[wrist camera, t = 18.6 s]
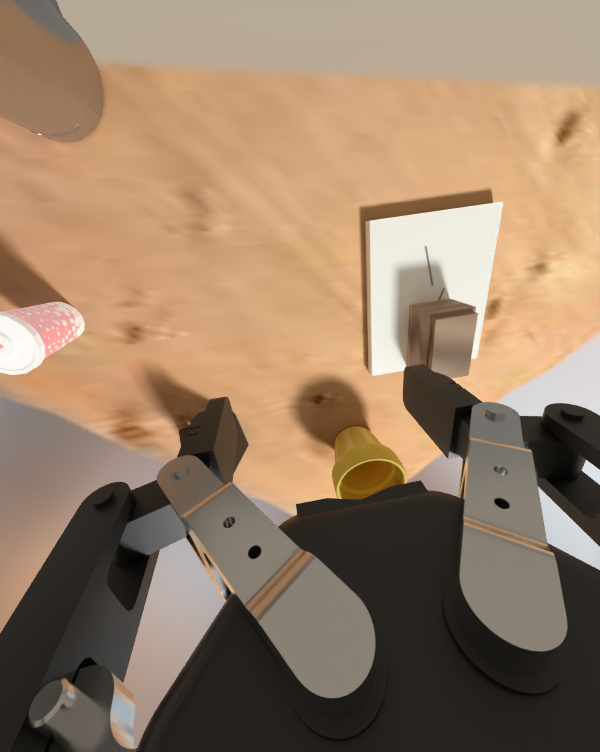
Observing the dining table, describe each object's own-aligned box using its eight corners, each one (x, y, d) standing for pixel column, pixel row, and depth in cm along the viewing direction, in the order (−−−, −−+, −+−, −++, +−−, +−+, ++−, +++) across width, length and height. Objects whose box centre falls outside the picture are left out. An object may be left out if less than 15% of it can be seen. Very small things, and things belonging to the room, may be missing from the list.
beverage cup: (71, 288, 33) (-47, 318, 20) (101, 336, 36) (13, 389, 23) (22, 303, 33) (-126, 342, 20) (56, 350, 36) (-56, 409, 23)
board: (365, 221, 33) (369, 220, 32) (493, 202, 34) (503, 201, 33) (368, 371, 42) (372, 376, 41) (469, 354, 43) (476, 358, 42)
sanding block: (409, 304, 37) (434, 316, 31) (449, 298, 37) (480, 308, 32) (406, 366, 41) (428, 385, 36) (442, 360, 41) (469, 378, 36)
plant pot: (317, 463, 49) (328, 511, 41) (330, 413, 45) (347, 455, 36) (371, 466, 51) (394, 513, 42) (389, 419, 47) (418, 460, 38)
